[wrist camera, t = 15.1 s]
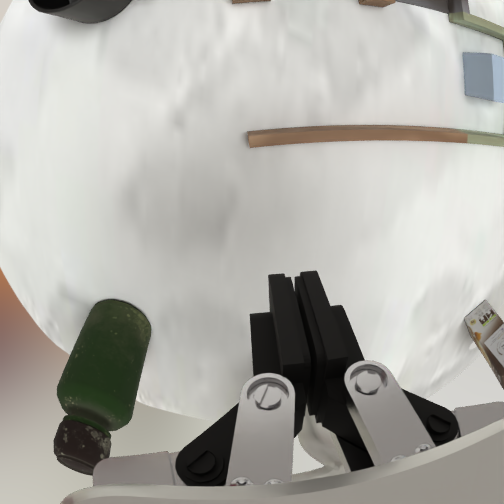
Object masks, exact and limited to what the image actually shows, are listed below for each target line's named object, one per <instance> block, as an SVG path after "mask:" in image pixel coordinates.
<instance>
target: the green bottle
mask: <svg viewBox="0 0 504 504" xmlns="http://www.w3.org/2000/svg"><path fill="white" fill-rule="evenodd" d="M150 336H151V327H150V324H149V322H148V321H147V319H146V318H145V316H144V315H143V314H142V313H141V312H140V311H138V310H137V309H135V308H134V307H133V306H131V305H129V304H127V303H124V302H120V301H115V300H106V301H102V302H99V303H97V304H95V306H94V307H93V308H92V310H91V311H90V313H89V316H88V318H87V320H86V322H85V324H84V326H83V328H82V330H81V332H80V335H79V337H78V339H77V341H76V343H75V346H74V348H73V350H72V352H71V355H70V357H69V360H68V362H67V364H66V367H65V369H64V371H63V374H62V376H61V379H60V381H59V384H58V386H57V396H58V399H59V401H60V404H61V406H62V408H63V410H64V411H65V412H66V413H67V414H68V415H66V416H65V417H64V418H63V421H62V422H61V423H60V425H59V427H58V430H57V433H56V436H55V438H54V454H55V455H56V456H57V460H58V461H59V462H60V463H61V464H63V465H64V466H66V467H68V468H70V469H72V470H74V471H77V472H80V473H83V474H86V475H92V476H93V471H94V468H95V466H96V465H97V463H99V462H100V461H101V460H103V459H106V458H109V455H110V448H111V441H110V439H111V434H110V433H109V431H116V430H118V429H120V428H122V427H123V426H125V425H127V424H128V423H129V421H130V420H131V418H132V414H133V410H134V405H135V400H136V396H137V391H138V386H139V382H140V378H141V373H142V369H143V365H144V361H145V356H146V352H147V348H148V344H149V340H150Z"/></svg>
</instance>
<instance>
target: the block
mask: <svg viewBox="0 0 504 504" xmlns="http://www.w3.org/2000/svg"><path fill="white" fill-rule="evenodd" d="M463 63H464V80H465V95H469V96H473V97H478V98H482V99H487V100H491V101H495V102H501V103H504V58H503V57H500V56H497V55H494V54H488V53H464V52H463Z"/></svg>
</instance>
